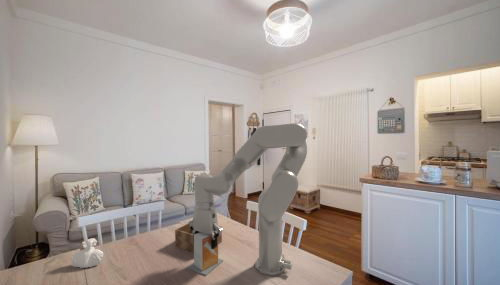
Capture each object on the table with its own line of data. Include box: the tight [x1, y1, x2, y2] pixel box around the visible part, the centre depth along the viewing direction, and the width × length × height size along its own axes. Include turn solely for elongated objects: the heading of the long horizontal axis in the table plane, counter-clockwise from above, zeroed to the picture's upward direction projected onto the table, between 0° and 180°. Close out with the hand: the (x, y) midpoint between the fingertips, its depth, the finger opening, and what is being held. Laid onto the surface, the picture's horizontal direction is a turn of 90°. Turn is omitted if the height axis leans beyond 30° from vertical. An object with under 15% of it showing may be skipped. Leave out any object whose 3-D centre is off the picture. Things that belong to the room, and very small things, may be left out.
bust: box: [71, 237, 104, 269], centre depth 92 cm, size 12×8×11 cm
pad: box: [186, 258, 224, 277], centre depth 90 cm, size 10×11×1 cm
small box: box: [193, 232, 219, 271], centre depth 90 cm, size 8×6×13 cm
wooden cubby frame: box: [174, 222, 223, 253], centre depth 107 cm, size 18×14×8 cm
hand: (205, 244), depth 90 cm, fingers open, 9 cm apart
